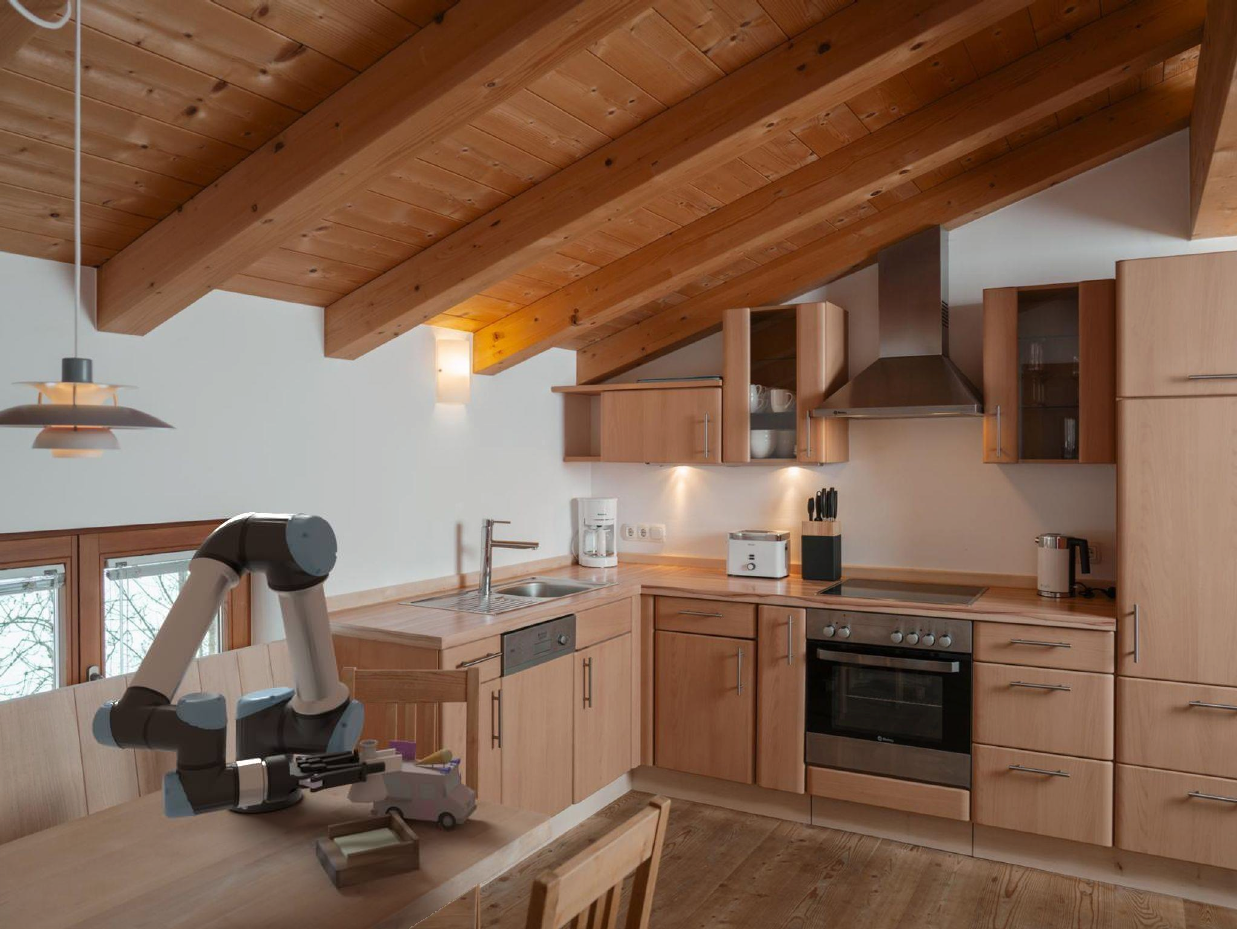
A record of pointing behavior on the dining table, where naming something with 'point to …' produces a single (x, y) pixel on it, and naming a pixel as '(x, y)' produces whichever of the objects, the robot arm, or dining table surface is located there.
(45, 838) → the dining table surface
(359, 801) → the flask
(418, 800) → the toy vehicle
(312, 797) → the dining table surface
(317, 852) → the dock
